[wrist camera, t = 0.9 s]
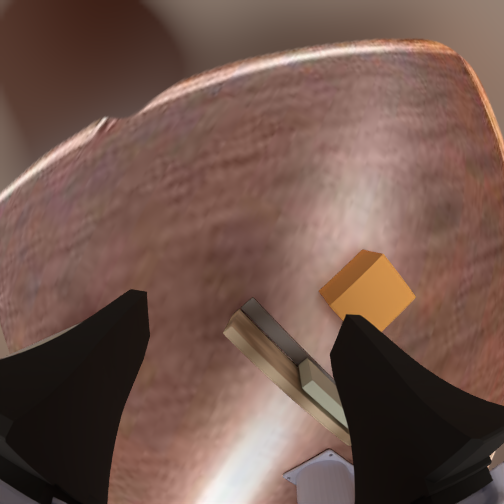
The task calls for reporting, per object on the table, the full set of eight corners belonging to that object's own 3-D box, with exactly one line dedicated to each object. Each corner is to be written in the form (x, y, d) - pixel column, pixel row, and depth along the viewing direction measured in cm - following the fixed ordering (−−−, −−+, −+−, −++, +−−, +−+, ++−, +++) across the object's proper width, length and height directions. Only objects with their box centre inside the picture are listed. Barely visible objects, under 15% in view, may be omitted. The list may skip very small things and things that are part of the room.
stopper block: (390, 285, 27) (415, 297, 21) (349, 324, 27) (365, 346, 21) (362, 249, 27) (383, 254, 21) (318, 290, 28) (329, 305, 22)
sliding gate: (374, 386, 27) (387, 408, 22) (345, 408, 27) (353, 433, 23) (329, 339, 27) (339, 358, 22) (298, 364, 27) (301, 387, 23)
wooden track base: (360, 405, 28) (372, 432, 22) (341, 419, 28) (350, 447, 23) (252, 297, 28) (247, 312, 23) (232, 314, 28) (222, 333, 23)
